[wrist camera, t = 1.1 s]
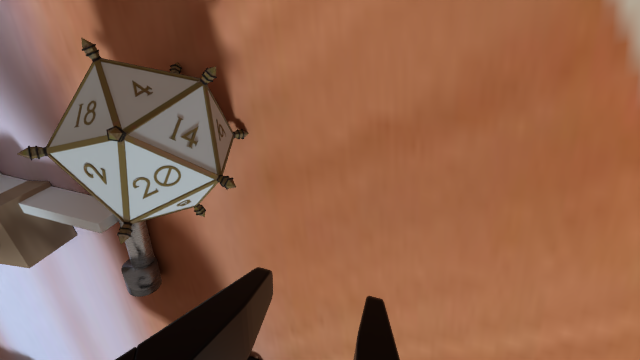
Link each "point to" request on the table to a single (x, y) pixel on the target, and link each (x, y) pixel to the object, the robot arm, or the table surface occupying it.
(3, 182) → the tray
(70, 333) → the table surface
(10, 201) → the drilled block
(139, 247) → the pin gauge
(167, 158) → the game die
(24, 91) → the table surface
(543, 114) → the table surface
